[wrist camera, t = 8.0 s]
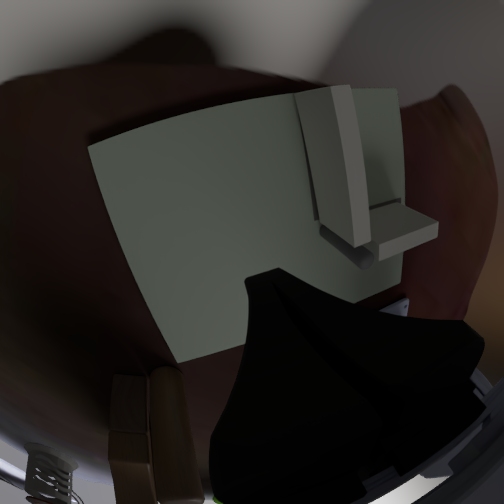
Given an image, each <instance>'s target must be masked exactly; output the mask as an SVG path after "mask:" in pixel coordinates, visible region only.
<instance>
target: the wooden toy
mask: <svg viewBox="0 0 504 504" xmlns="http://www.w3.org/2000/svg"><path fill="white" fill-rule="evenodd" d="M150 417H151V431H150V430H149V416H148V393H147V379H146V377H145V376H134V375H123V374H114V376H113V383H112V393H111V403H110V417H109V431H110V432H109V439H108V461H109V464H110V469H111V473H112V478H113V483H114V491H115V498H116V504H158V502H159V503H160V504H203V503H204V500H205V498H204V493H203V489H202V484H201V480H200V475H199V470H198V465H197V460H196V454H195V449H194V443H193V438H192V432H191V426H190V419H189V413H188V406H187V399H186V391H185V383H184V376H183V375H182V373H181V372H180V371H179V370H178V369H176V368H174V367H170V366H162V367H158V368H156V369H154V370H153V371H152V373H151V374H150ZM157 501H158V502H157Z"/></svg>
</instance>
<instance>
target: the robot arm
mask: <svg viewBox="0 0 504 504" xmlns="http://www.w3.org/2000/svg"><path fill="white" fill-rule="evenodd" d="M244 283H245V287H246V291H247V295H248V326H247V335H246V342H245V347H244V352H243V356H242V360H241V364H240V368H239V371H238V375H237V378H236V381H235V384H234V386H233V389H232V391H231V394H230V397H229V399H228V402H227V404H226V407H225V409H224V411H223V413H222V415H221V417H220V419H219V421H218V423H217V425H216V427H215V429H214V431H213V433H212V435H211V439H210V449H209V474H210V480H211V485H212V489H213V493H214V497H215V498H216V499H217V500H218V501H219V502H221V503H223V504H368V503H370V502H372V501H374V500H376V499H378V498H380V497H382V496H383V495H385V494H387V493H389V492H390V491H392V490H394V489H396V488H397V487H399V486H401V485H402V484H404V483H406V482H407V481H409V480H410V479H412V478H414V477H415V476H416V475H418V474H420V475H421V476H424V477H425V478H437V477H446V476H450V477H449V478H447V479H446V480H445V481H443V482H442V483H441V484H439V485H438V486H437V487H435V488H434V489H432V490H431V491H429V492H428V493H427V494H425V495H424V496H422V497H421V498H419V499H418V500H416V501H415V502H413V503H411V504H504V377H503V378H502V379H501V380H500V381H499V382H498V383H497V384H496V385H495V386H494V387H493V386H492V385H491V384H490V382H489V381H488V380H487V379H486V378H485V376H484V375H483V374H482V373H481V372H480V371H479V370H478V369H477V368H476V366H477V364H478V362H479V360H480V358H481V356H482V354H483V350H484V346H485V342H484V339H483V338H482V337H481V336H480V335H479V334H478V333H477V332H476V331H475V330H473V329H472V328H471V327H470V326H469V325H468V324H467V323H465V322H464V321H463V320H432V319H422V318H414V317H407V310H408V305H409V299H408V298H403V299H401V300H399V301H397V302H395V303H393V304H391V305H389V306H387V307H385V308H383V309H381V310H379V311H377V310H374V309H370V308H367V307H363V306H360V305H357V304H354V303H351V302H348V301H346V300H343V299H341V298H338V297H336V296H333V295H331V294H329V293H327V292H324V291H322V290H320V289H318V288H316V287H314V286H312V285H310V284H308V283H306V282H304V281H303V280H301V279H299V278H297V277H295V276H294V275H292V274H290V273H288V272H287V271H285V270H283V269H281V268H279V267H278V268H275V269H272V270H269V271H266V272H262V273H259V274H256V275H253V276H250V277H247V278H246V279H245V280H244Z"/></svg>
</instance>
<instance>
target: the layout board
mask: <svg viewBox="0 0 504 504" xmlns="http://www.w3.org/2000/svg"><path fill="white" fill-rule="evenodd" d="M351 91H352V95H353V100H354V105H355V110H356V116H357V121H358V127H359V133H360V139H361V145H362V152H363V159H364V167H365V175H366V184H367V193H368V204H369V210H372V209H375V208H378V207H382V206H385V205H389V204H392V203H396V202H398V203H400V204H402V205H404V206H405V173H404V152H403V138H402V127H401V118H400V109H399V101H398V94H397V89H396V88H352V89H351ZM88 151H89V154H90V158H91V161H92V165H93V168H94V171H95V174H96V178H97V181H98V184H99V187H100V190H101V193H102V196H103V199H104V202H105V205H106V207H107V210H108V213H109V216H110V218H111V221H112V224H113V227H114V229H115V232H116V234H117V237H118V239H119V242H120V244H121V247H122V249H123V252H124V254H125V257H126V259H127V261H128V264H129V266H130V268H131V271H132V273H133V275H134V277H135V280H136V282H137V284H138V286H139V288H140V291H141V293H142V295H143V297H144V299H145V301H146V303H147V305H148V307H149V309H150V312H151V314H152V316H153V318H154V320H155V322H156V323H157V325H158V327H159V329H160V331H161V333H162V335H163V337H164V339H165V341H166V343H167V344H168V346H169V348H170V350H171V352H172V354H173V355H174V357H175V359H176V361H177V362H178V363H180V362H183V361H187V360H191V359H194V358H198V357H202V356H205V355H209V354H212V353H215V352H219V351H222V350H226V349H229V348H232V347H235V346H238V345H242V344H245V342H246V335H247V326H248V295H247V291H246V287H245V283H244V280H245V279H246V278H247V277H250V276H253V275H256V274H259V273H262V272H266V271H269V270H272V269H275V268H278V267H279V268H281V269H283V270H285V271H287V272H288V273H290V274H292V275H294V276H295V277H297V278H299V279H301V280H303V281H304V282H306V283H308V284H310V285H312V286H314V287H316V288H318V289H320V290H322V291H324V292H327V293H329V294H331V295H333V296H336V297H338V298H341V299H343V300H346V301H348V302H351V303H356V302H358V301H360V300H363V299H365V298H367V297H370V296H372V295H374V294H376V293H379V292H381V291H383V290H385V289H388V288H390V287H392V286H394V285H396V284H398V283H400V281H401V271H402V260H403V252H401V253H398V254H396V255H393V256H391V257H388V258H386V259H383V260H381V261H378V260H377V259H375V258H374V262H373V264H372V265H371V267H370V268H368V269H366V270H361V269H360V268H359V267H358V266H356V265H355V264H354V263H353V262H352V261H350V260H349V259H348V258H347V257H346V256H345V255H343V254H342V253H341V252H340V251H339V250H337V249H336V248H335V247H334V246H332V245H331V244H330V243H329V242H328V241H326V240H325V239H324V238H323V237H321V236H320V233H319V229H320V227H321V226H322V225H323V224H322V223H320V220H319V213H318V207H317V201H316V196H315V190H314V184H313V179H312V174H311V168H310V163H309V158H308V153H307V148H306V144H305V139H304V134H303V130H302V125H301V121H300V116H299V112H298V108H297V104H296V100H295V96H294V93H290V94H282V95H275V96H268V97H262V98H256V99H250V100H244V101H239V102H234V103H229V104H224V105H219V106H215V107H210V108H206V109H202V110H198V111H194V112H190V113H186V114H182V115H179V116H175V117H172V118H168V119H165V120H161V121H158V122H155V123H152V124H148V125H145V126H142V127H139V128H136V129H133V130H130V131H128V132H125V133H122V134H119V135H117V136H114V137H111V138H109V139H106V140H103V141H101V142H98V143H96V144H93V145H91V146H89V147H88Z"/></svg>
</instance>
